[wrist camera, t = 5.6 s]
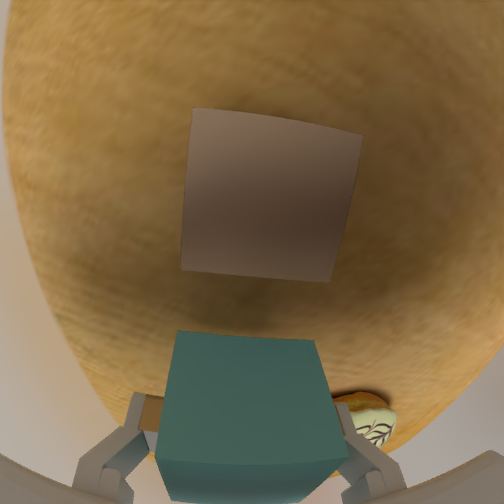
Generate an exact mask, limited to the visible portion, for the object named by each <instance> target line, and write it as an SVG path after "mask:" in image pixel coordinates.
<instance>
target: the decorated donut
mask: <svg viewBox="0 0 504 504" xmlns="http://www.w3.org/2000/svg"><path fill="white" fill-rule="evenodd" d="M336 402H346V403H347V405H348V408H349V411H350V414H351V416H352V419H353V422H354V425H355V428H356V431H357V434H362V435H363V436H364V437H365V438H367V439H368V440H369V441H370V442H372V443H373V444H374V445H375V446H377V447H378V448H379V449H380V448H381V447H382V446H383V445H384V444H385V443H386V442H387V441H388V439H389V437H390V435H391V434H392V432H393V430H394V428H395V425H396V421H397V413H396V411H395V410H393V409H391V408H390V407H389V406H388V404H387V403H386V402H384V401H383V400H382V399H380V398H379V397H377V396H375V395H373V394H371V393H368V392H366V393H364V392H355V393H353V394H349V395H344V396H340V397H338V398H333V403H336Z"/></svg>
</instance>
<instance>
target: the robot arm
mask: <svg viewBox="0 0 504 504" xmlns="http://www.w3.org/2000/svg"><path fill="white" fill-rule="evenodd" d="M163 402H164V397H161V396H155V395H149V394H144V393H139V392H134V393H133V395H132V397H131V401H130V405H129V408H128V412H127V416H126V420H125V424H124V427H122V426H120V427H118V428H117V429H116V430H115V431H114V432H112V433H111V434H110V435H108V436H107V437H106V438H105V439H103V440H102V441H101V442H100V443H98V444H97V445H96V446H95V447H93V448H92V449H91V450H90V451H88V452H87V453H86V454H84V455H83V456H82V457H81V458H80V459H79V463H78V466H77V470H76V474H75V477H74V481H73V485H72V487H69V486H67V485H64V484H62V483H59V482H57V481H54V480H52V479H49V478H47V477H45V476H43V475H40V474H38V473H36V472H34V471H32V470H30V469H28V468H26V467H24V466H22V465H20V464H18V463H16V462H14V461H13V460H11V459H9V458H7V457H5V456H4V455H2V454H0V504H133V497H134V491H133V490H132V489H131V487H130V486H129V485H128V483H127V482H126V481H125V478H126V477H127V476H128V475H129V474H130V473H131V472H132V471H133V470H134V468H135V467H136V466H137V465H138V464H139V463H140V462H141V461H142V460H143V459H144V458H145V457H146V456H147V455H148V454H149V451H151V452H155V450H156V443H157V437H158V431H159V425H160V419H161V413H162V407H163ZM334 406H335V409H336V412H337V416H338V419H339V422H340V426H341V429H342V432H343V436H344V439H345V443H346V446H347V450H348V453H349V458H348V459H347V460H346V461H345V462H344V463H343V464H342V465H341V466H340V467H339V468H338V469H337V471H338V472H339V473H340V474H341V475H342V476H343V477H344V478H345V479H346V480H347V481H348V482H349V483H350V484H351V486H350V487H349V488H347V489H346V490H345V491H343V492H342V494H341V496H342V501H343V504H504V456H502V455H500V454H499V453H497V452H495V451H492V450H489V451H486V452H484V453H482V454H481V455H479V456H477V457H475V458H474V459H472V460H470V461H468V462H466V463H465V464H462V465H460V466H458V467H456V468H454V469H452V470H450V471H448V472H446V473H444V474H442V475H440V476H437V477H435V478H432V479H430V480H428V481H426V482H423V483H420V484H418V485H415V486H412V487H410V488H407V486H406V483H405V481H404V478H403V475H402V472H401V470H400V467H399V464H398V463H397V462H395V461H394V460H393V459H392V458H390V457H389V456H388V455H387V454H385V453H384V452H383V451H382V450H380V449H379V448H378V447H377V446H375V445H374V444H373V443H372V442H370V441H369V440H368V439H367V438H365V437H364V436H363V435H362V434H357V431H356V428H355V425H354V422H353V419H352V416H351V414H350V411H349V408H348V405H347V403H346V402H336V403H334Z"/></svg>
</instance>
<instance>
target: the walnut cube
mask: <svg viewBox="0 0 504 504" xmlns="http://www.w3.org/2000/svg"><path fill="white" fill-rule="evenodd" d="M363 137H364V136H363V135H360V134H356V133H352V132H348V131H344V130H340V129H336V128H331V127H327V126H322V125H318V124H313V123H308V122H303V121H298V120H292V119H287V118H281V117H275V116H268V115H262V114H254V113H247V112H239V111H230V110H220V109H208V108H194V107H193V113H192V121H191V129H190V138H189V148H188V157H187V168H186V180H185V192H184V206H183V223H182V243H181V270H187V271H197V272H207V273H217V274H228V275H238V276H250V277H261V278H273V279H285V280H297V281H310V282H324V283H330V280H331V276H332V273H333V269H334V266H335V262H336V259H337V255H338V251H339V247H340V243H341V240H342V236H343V232H344V228H345V224H346V219H347V215H348V211H349V207H350V202H351V198H352V193H353V189H354V184H355V179H356V175H357V170H358V165H359V159H360V154H361V149H362V143H363Z"/></svg>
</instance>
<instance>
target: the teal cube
mask: <svg viewBox="0 0 504 504" xmlns="http://www.w3.org/2000/svg"><path fill="white" fill-rule="evenodd" d="M348 458H349V453H348V450H347V446H346V443H345V439H344V436H343V432H342V429H341V426H340V422H339V419H338V416H337V412H336V409H335V406H334V403H333V399H332V396H331V393H330V390H329V387H328V383H327V380H326V377H325V374H324V371H323V368H322V364H321V361H320V358H319V355H318V352H317V349H316V346H315V343H314V340H297V339H273V338H256V337H241V336H228V335H217V334H207V333H197V332H188V331H180V330H178V332H177V337H176V341H175V346H174V351H173V356H172V360H171V365H170V370H169V375H168V381H167V386H166V391H165V396H164V402H163V407H162V413H161V419H160V425H159V431H158V437H157V443H156V450H155V459H156V462H157V465H158V468H159V471H160V473H161V476H162V478H163V481H164V484H165V486H166V489H167V491H168V494H169V496H170V499H171V500H172V501H179V502H187V503H197V504H288V503H298V502H300V501H302V500H303V499H304V498H305V497H306V496H308V495H309V494H310V493H311V492H312V491H314V490H315V489H316V488H317V487H318V486H319V485H320V484H322V482H324V481H325V480H326V479H327V478H328V477H329V476H330V475H331V474H332V473H334V472H335V471H336V470H337V469H338V468H339V467H340V466H341V465H342V464H343V463H344V462H345V461H346V460H347V459H348Z"/></svg>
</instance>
